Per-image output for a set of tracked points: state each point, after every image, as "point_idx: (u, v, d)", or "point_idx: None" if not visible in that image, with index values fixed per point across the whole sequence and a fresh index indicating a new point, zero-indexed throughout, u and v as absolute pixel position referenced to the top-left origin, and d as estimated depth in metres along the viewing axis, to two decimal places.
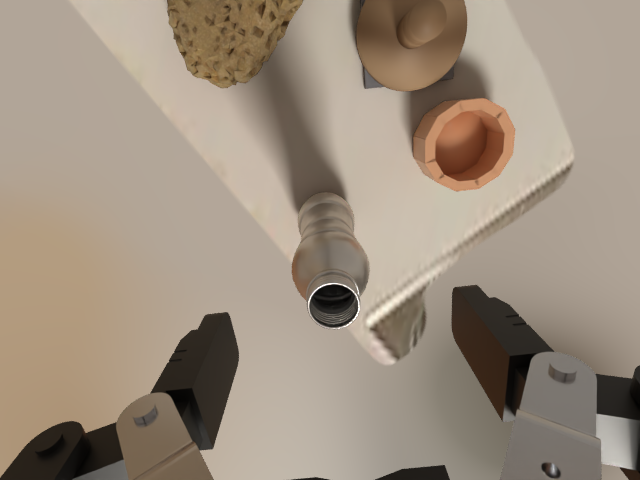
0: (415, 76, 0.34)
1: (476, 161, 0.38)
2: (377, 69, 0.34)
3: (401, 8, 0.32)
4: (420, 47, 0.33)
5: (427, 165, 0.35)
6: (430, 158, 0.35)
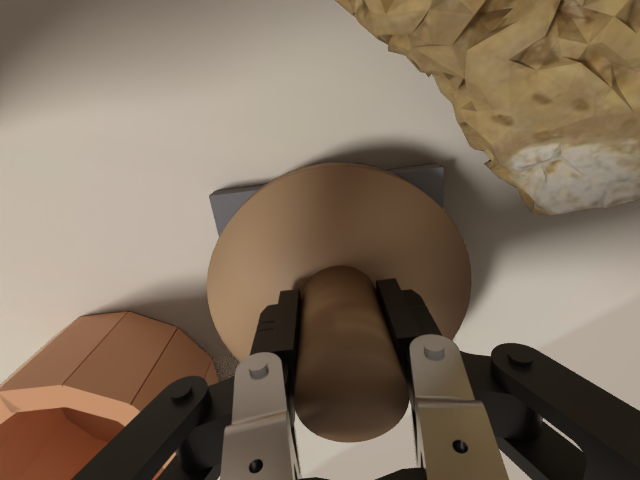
0: (242, 317, 0.14)
1: (99, 437, 0.18)
2: (249, 228, 0.12)
3: (387, 272, 0.13)
4: None
5: None
6: (15, 401, 0.12)
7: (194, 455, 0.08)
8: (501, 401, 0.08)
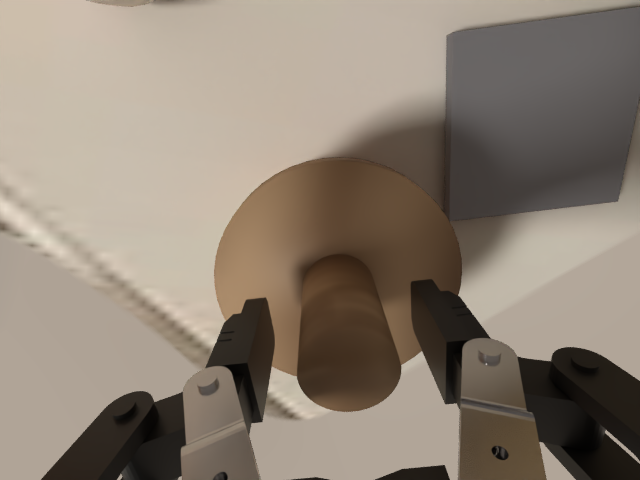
0: None
1: None
2: (254, 219, 0.13)
3: (382, 260, 0.14)
4: None
5: None
6: None
7: (144, 472, 0.08)
8: (565, 408, 0.08)
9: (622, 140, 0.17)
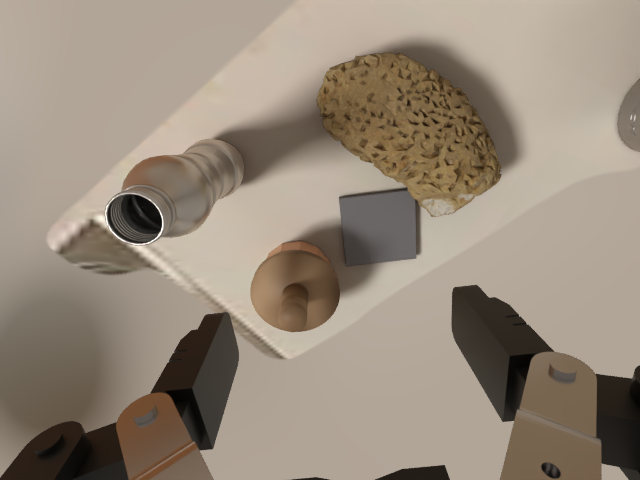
0: (262, 300, 0.40)
1: None
2: (265, 271, 0.39)
3: (310, 285, 0.39)
4: None
5: None
6: None
7: None
8: None
9: (412, 235, 0.43)
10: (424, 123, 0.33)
